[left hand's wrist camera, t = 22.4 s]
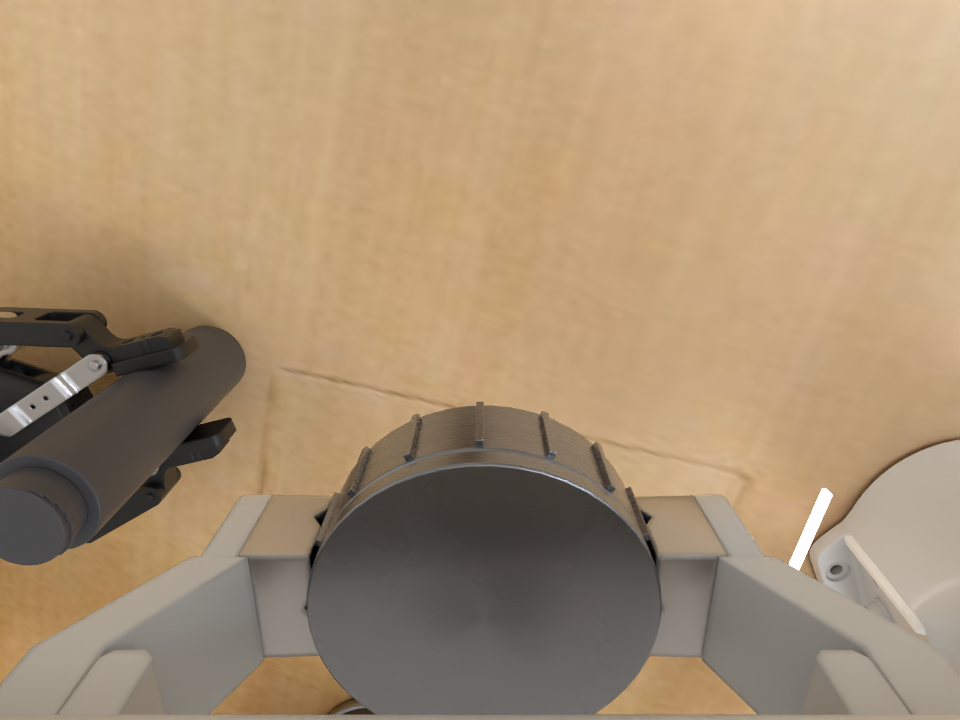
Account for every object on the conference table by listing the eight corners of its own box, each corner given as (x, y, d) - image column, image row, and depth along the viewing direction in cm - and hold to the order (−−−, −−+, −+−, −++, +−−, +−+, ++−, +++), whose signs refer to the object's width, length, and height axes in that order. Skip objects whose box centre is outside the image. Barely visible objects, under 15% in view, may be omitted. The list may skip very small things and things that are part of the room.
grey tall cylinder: (226, 403, 40) (50, 594, 24) (163, 366, 39) (-63, 539, 23) (258, 351, 39) (97, 516, 23) (195, 312, 38) (-21, 454, 22)
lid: (347, 376, 9) (316, 432, 7) (673, 428, 9) (712, 493, 8) (320, 634, 11) (291, 724, 9) (596, 671, 11) (614, 765, 9)
